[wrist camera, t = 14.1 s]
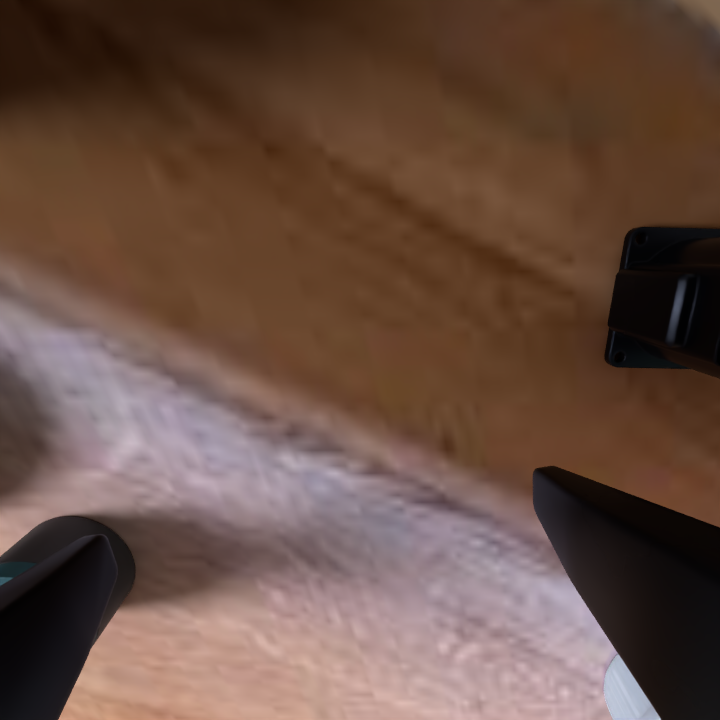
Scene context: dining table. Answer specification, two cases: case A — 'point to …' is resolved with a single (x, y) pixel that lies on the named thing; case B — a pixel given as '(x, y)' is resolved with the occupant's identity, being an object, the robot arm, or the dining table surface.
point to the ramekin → (626, 694)
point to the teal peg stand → (60, 535)
